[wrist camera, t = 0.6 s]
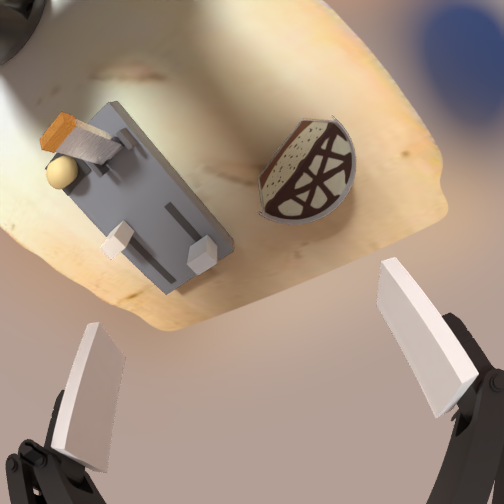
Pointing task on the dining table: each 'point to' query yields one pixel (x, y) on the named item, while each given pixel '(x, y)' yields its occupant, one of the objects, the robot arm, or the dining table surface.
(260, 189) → the food container
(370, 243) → the dining table surface
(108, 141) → the lever
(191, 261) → the grey slider
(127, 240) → the cream slider
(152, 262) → the panel
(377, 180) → the dining table surface
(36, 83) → the dining table surface
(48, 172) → the button
